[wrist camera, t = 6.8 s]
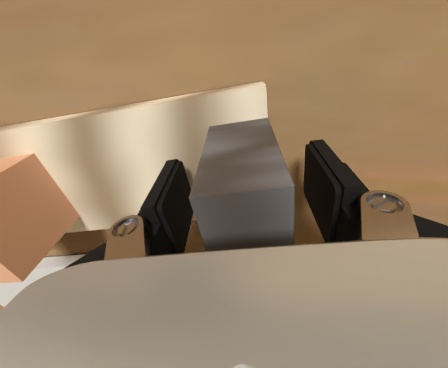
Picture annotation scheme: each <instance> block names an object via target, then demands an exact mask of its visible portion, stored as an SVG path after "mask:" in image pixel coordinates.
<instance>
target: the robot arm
mask: <svg viewBox="0 0 448 368" xmlns="http://www.w3.org/2000/svg"><path fill="white" fill-rule="evenodd" d="M190 192H191V187H190V184H189V181H188V178H187V174H186V171H185V168H184V165H183V162H182V161H179V160H178V159H173V160H167V161H166V163H165V165H164V166H163V168H162V170H161V172H160V174H159V175H158V177H157V179H156V181H155V183H154V184H153V186H152V188H151V190H150V192H149V193H148V195H147V197H146V199H145V201H144V202H143V204H142V206H141V208H140V211H139V213H138V214H137V215H130V216H126V217H124V218H121V219H120V220H118V221H117V222H115V223H114V224H113V225H112V226H111V228H110V229H109V231H108V236H107V242H106V243H104V244H102V245H101V246H99V247H97V248H96V249H94V250H93V251H91V252H89V253H88V254H86V255H84V256H83V257H81V258H80V259H78V260H76V261H75V262H73V263H71V264H70V265H68V266H66V267H65V268H64V269H61V270H58V271H56V272H53V273H51V274H48V275H46V276H44V277H42V278H40V279H38V280H36V281H34V282H33V283H31V284H29V285H28V286H26V287H25V288H24V289H23V290H22V291H20V292H19V293H18V294H17V295H16V296H15V297H14V298H13V299H12V300H11V301H10V302H9V303H8V304H7V305H6V306H5V307H4V308H3V309H2V310H1V311H0V368H448V226H446V225H443V224H440V223H437V222H434V221H431V220H428V219H425V218H422V217H419V216H416V215H413V214H412V211H411V207H410V205H409V203H408V201H406V200H405V199H404V198H403V197H401V196H399V195H397V194H395V193H392V192H388V191H381V190H374V191H369V190H368V189H367V187H366V186H365V185H364V184H363V183H362V182H361V180H360V179H359V178H358V177H357V176H356V175H355V173H354V172H353V171H352V170H351V169H350V168H349V167H348V165H347V164H346V163H342V162H341V160H340V159H339V158H338V157H337V156H336V154H335V153H334V152H333V151H332V150H331V148H330V147H329V146H328V145H327V144H326V143H325V141H324V140H323V139H322V140H314V141H310V143H309V144H306V148H305V169H304V194H305V197H306V199H307V202H308V204H309V206H310V208H311V211H312V213H313V215H314V218H315V220H316V222H317V225H318V227H319V229H320V231H321V234H322V236H323V238H324V241H325V243H314V244H299V245H284V246H271V247H257V248H243V249H230V250H217V251H203V252H191V253H184V250H185V246H186V241H187V237H188V233H189V229H190V225H191V221H192V216H193V209H192V206H191V203H190V200H189V195H190Z"/></svg>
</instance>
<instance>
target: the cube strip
mask: <svg viewBox="0 0 448 368" xmlns="http://www.w3.org/2000/svg"><path fill="white" fill-rule="evenodd" d="M31 153H34V154H35V155H36V156H37V158H38V159H39V160H40V162H41V163H42V165H43V166H44V167H45V169H46V170H47V171H48V173H49V174H50V175H51V177H52V178H53V180H54V181H55V182H56V184H57V185H58V186H59V188H60V189H61V191H62V192H63V193H64V195H65V196H66V197H67V199H68V200H69V201H70V203H71V204H72V206H73V207H74V208H75V210H76V211H77V212H78V214H79V215H80V217H79V218H78V219H77V220H76V221H75V222H74V223H73V225H72V226H71V227H70V228H69V229H68V230H67V232H66V233H70V232H81V231H91V230H102V229H110V228H111V226H112V225H113V224H114V223H115V222H117V221H118V220H120V219H121V218H124V217H126V216H130V215H137V214H138V213H139V211H140V208H141V206H142V204H143V202H144V201H145V199H146V197H147V195H148V193H149V192H150V190H151V188H152V186H153V184H154V183H155V181H156V179H157V177H158V175H159V174H160V172H161V170H162V168H163V166H164V165H165V163H166V161H167V160H173V159H178V160H179V161H182V162H183V165H184V168H185V171H186V174H187V178H188V181H189V184H190V187H191V192H190V195H189V200H190V203H191V206H192V209H193V216H192V221H197V224H198V227H199V230H200V233H201V236H202V239H203V243H204V246H205V249H206V251H217V250H230V249H243V248H257V247H271V246H284V245H294V197H295V186H294V183H293V181H292V178H291V176H290V173H289V171H288V168H287V166H286V163H285V160H284V158H283V155H282V153H281V150H280V148H279V145H278V143H277V140H276V138H275V135H274V132H273V130H272V127H271V125H270V122H269V120H268V114H267V96H266V85H265V83H264V82H263V81H262V82H256V83H250V84H244V85H239V86H233V87H227V88H222V89H216V90H210V91H204V92H199V93H193V94H187V95H181V96H176V97H170V98H164V99H158V100H153V101H147V102H141V103H135V104H130V105H124V106H118V107H112V108H107V109H101V110H95V111H89V112H84V113H78V114H72V115H66V116H61V117H55V118H49V119H43V120H38V121H32V122H26V123H21V124H15V125H9V126H3V127H0V158H5V157H12V156H18V155H25V154H31Z"/></svg>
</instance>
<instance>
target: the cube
mask: <svg viewBox="0 0 448 368" xmlns="http://www.w3.org/2000/svg"><path fill="white" fill-rule="evenodd" d="M79 217H80V215H79V214H78V212H77V211H76V210H75V208H74V207H73V206H72V204H71V203H70V201H69V200H68V199H67V197H66V196H65V195H64V193H63V192H62V191H61V189H60V188H59V186H58V185H57V184H56V182H55V181H54V180H53V178H52V177H51V175H50V174H49V173H48V171H47V170H46V169H45V167H44V166H43V165H42V163H41V162H40V160H39V159H38V158H37V156H36V155H35V154H34V153H31V154H25V155H18V156H12V157H5V158H0V283H13V282H23V281H24V280H25V279H26V278H27V277H28V276H29V274H30V273H31V272H32V271H33V270H34V269H35V267H36V266H37V265H38V264H39V263H40V262H41V260H42V259H43V258H44V257H45V256H46V255H47V254H48V252H49V251H50V250H51V249H52V248H53V247H54V245H55V244H56V243H57V242H58V241H59V240H60V239H61V237H62V236H63V235H64V234H65V233H66V232H67V230H68V229H69V228H70V227H71V226H72V225H73V223H74V222H75V221H76V220H77V219H78V218H79Z"/></svg>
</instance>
